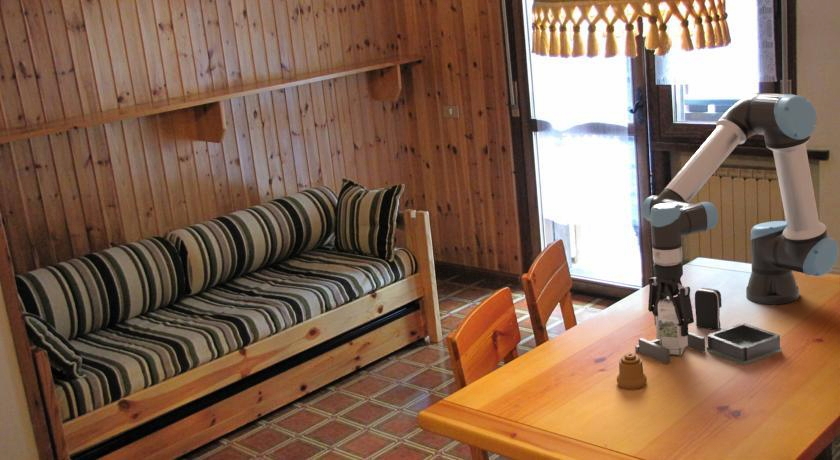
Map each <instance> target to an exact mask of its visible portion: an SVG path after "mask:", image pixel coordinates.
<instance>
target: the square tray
mask: <svg viewBox="0 0 840 460" xmlns="http://www.w3.org/2000/svg"><path fill="white" fill-rule="evenodd" d="M705 350H706V351H707V352H710V353H711V354H714V355H717V356H719V357H720V358H721V357H722V358H724V359H726V360H728V361H730V362H731V361H732V362H733V363H734V362H735V363H736V364H739V365H741V366H746V365H749V364H752V363H755V362H757V361H760V360H763V359H766V358H768V357H771V356H775V355H777V354H780V353H782V352H783V348H782V347H781V335H780V334H777V333H775V332H771V331H768V330H766V329H763V328H760V327H758V326H754V325H751V324H748V323H745V322H744V323H738V324H735V325H732V326H729V327H726V328H723V329H719V330H716V331H713V332H711V333H709V334H708V335H707V346H705Z"/></svg>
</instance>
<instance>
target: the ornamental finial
mask: <svg viewBox="0 0 840 460" xmlns="http://www.w3.org/2000/svg"><path fill="white" fill-rule="evenodd" d="M643 366H644V365H643V360H642V358H640V357H639V356H638V355H636V354H635V353H625V354H624V355H623V356H622V357H621V358H619V360H618V370H619V371H618V373H619V374H618V375H617V377H616V383H617V385H618V386H619V387H620V388H622V389H625V390H638V389H641V388H644V387H645V386H646V384H647V382H648V378H647V375H646V374H645V373H644V367H643Z"/></svg>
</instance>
